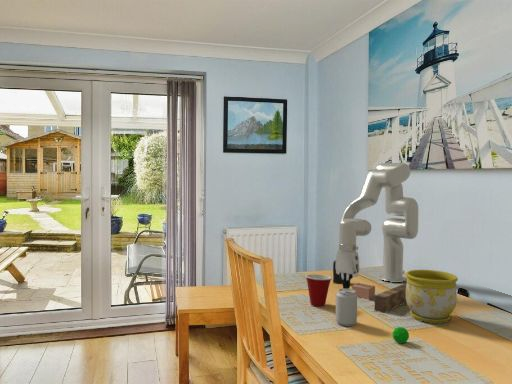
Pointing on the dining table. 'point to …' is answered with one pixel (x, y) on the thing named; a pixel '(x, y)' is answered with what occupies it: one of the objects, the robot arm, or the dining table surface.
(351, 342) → the dining table surface
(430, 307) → the flowerpot
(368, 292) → the terracotta block
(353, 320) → the can
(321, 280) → the plastic cup
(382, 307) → the brown blocky bar
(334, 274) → the battery charger
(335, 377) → the dining table surface
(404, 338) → the green ball
